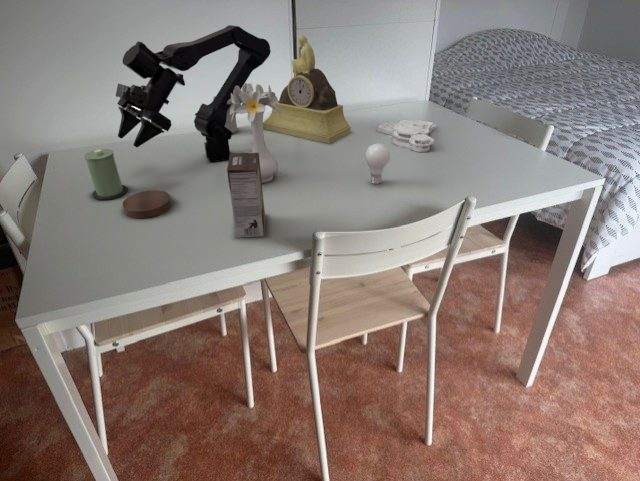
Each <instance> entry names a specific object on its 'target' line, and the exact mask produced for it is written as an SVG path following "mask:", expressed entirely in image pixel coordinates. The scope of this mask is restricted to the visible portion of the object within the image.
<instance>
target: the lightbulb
mask: <svg viewBox="0 0 640 481" xmlns="http://www.w3.org/2000/svg"><path fill="white" fill-rule="evenodd" d="M390 159H391V153H390V150H389V148H388V146H386V145H385V144H384V143H379V142H377V143H372V144H371V145H369V146H368V147H367V148H366V151H365V153H364V160H365V162H366V165H367V166H368V167H369V171H370V182H371V183H372V184H374V185H379V184H380V183H382V175H383V172H384V169H385V167H386V166H387V164H389V161H390Z"/></svg>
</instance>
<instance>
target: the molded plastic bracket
mask: <svg viewBox="0 0 640 481" xmlns="http://www.w3.org/2000/svg"><path fill="white" fill-rule="evenodd" d="M436 129H437V124H435V122H431V121H427V120H420V119H418V120H410V119H402V120H398V121H396V122H395V123H391V122H385V121H384V122H383V123H381V124H379V125H378V126H377V127H376V130H375V131H376V132H379V133H382V134H386V135H389V136H393V137H392V143H393V144H395V145H396V146H399V147H402V148H406V149H409V150H412V151H414V152H418V153H424V152H425V153H426V152H428V151H430V147H431V145H433V144H434V143H435V139H434V138H433V137H431V136H430V135H429V134H430V133H432V132H433V131H434V130H436Z"/></svg>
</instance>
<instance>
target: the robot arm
mask: <svg viewBox="0 0 640 481" xmlns="http://www.w3.org/2000/svg"><path fill="white" fill-rule="evenodd" d="M231 45H234V46H235V47H236V48H238V55H237V61H236V63H235V65H234V67H233V68H232V70H231V71H230V72H229V75H228V76H227V78H226V79H225V81H224V83H223V84H222V86H221V87H220V89H219V91H218V93H217V94H216V95H215V96H216V97H215V96H214V97H215V99H214V100H213V99H212V101H213V102H212V101H211V102H212V103H211V102H210V103H209V104H206V103H201V105H200V106H199V109H198V110H197V112H196V113H195V114H194V116H195V117H194V120H193V123H194V127H195V129H196V130H197V131H198V132H200V135H201V136H202V137H205V141H204V143H203V144H204V151H205V156H206V158H207V159H208V160H209V162H210V163H213V162H221V161H226V160H227V161H229V155H230V154H231V152H230V151H231V150H230V143H229V142H230V140H231V139H232V135H233V134H232V132H231V131H230V130H229V129H227V128H226V127H225V124H226V120H227V111H228V110H229V108H230V106H231V105H232V104H227V101H228V100H229V99H231V93H232V94H233V90H234V88H235V86H239V88H240V89H241V90H242V88H243V86H244V84H245V83H247V80H248V79H249V78H250V76H251V74H252V72H254V71H255V70H256V69H258V68H259V67H260V66H262V65H263V64H264V63H265V62H266V60H268V58H270V55H271V45H270V43H269V41H268V40H267V39H265V38H261V37H258V36H256V35H254V34H252V33H250V32H248V31H246V30H245V29H243V28H242V27H241V26H238V25H234V24H233V25H232V24H230V25H229V24H228V25H227V26H225V27H224V28H222V29H219V30H217V31H214V32H211V33H209V34H207V35H204V36H202V37H200V38H197V39H194V40H192V41H186V42H185V41H184V42H176V43H171V44H167V45H165V47H164V48H162V49H163V50H160V51H157V52H154V51H153V50H151V49H150V48H149V47H148V46H147V45H146V44H145V43H144V42H142V41H139V40H138V41H136V43H135V44H134V45H132V46H131V47H129V49H128V50H126V51H125V53H124V55H123V57H122V64H123V65H124V66H125V67H127V69H129V70H131V71H132V72H133V73H134V74H136V75H137V76H139V77H140V78H142V79H143V80H146V79H148V78H149V80H148V82H147V83H146V85H145V84H142V85H136V84H131V86H129V85H126V84H122V83H117V87H116V92H115V97H116V98H119V100H118V101H117V103H116V104H117V105H118V106H117V107H118V110H119V112H120V114H121V118H120V124H119V129H118V133H117V137H118V138H119V139H123V138H125V137H126V136H127V135H128V134H129V133H130V132H131V131H132V130H134V129H135V128H136V127H137V126H138V125H139V124H141V126H140V128H139V131H138V132H137V134H136V137H135V139H134V142H133V144H132V146H133V147H135V148H139V147H141V146H142V145H144V144H145V143H147V142H148V141H151V139H153V138H155V137H156V136H159V135H160V134H164V133H165V131H166V132H169V131H170V129H171V127H172V120H171V119H170V118H168V117H167V116H166V115H163V113H161V112H160V111H161V110H162V108H163V107H164V105H167V106H168V105H169V103H170V100H168V98H169V97H170V95H171V93H172V92H173V90H174V88H175V87H176V85H180V86H186V82H185V79H184V74H182V73H177V72H175V71H173V70H177V71H180V72H186V71H189V70H190V69H191V68H193V67H194V66H196V65H197V64H198V62H200V60H201V59H203V58H204V57H206V56H208V55H210V54H213V53H215V52H217V51H220V50H222V49H224V48H226V47H229V46H231ZM162 65H164V66H166V67H163V66H162ZM233 95H234V94H233Z"/></svg>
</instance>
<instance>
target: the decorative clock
mask: <svg viewBox="0 0 640 481" xmlns="http://www.w3.org/2000/svg"><path fill="white" fill-rule="evenodd" d="M297 40H298V43H299V46H298V49H297V50H298V53H297V58H298V59H297V58H296V59H295V58H294V59H292V60H291V65H292V73H293V74H294V75H293V77H292V78H291V79H290V80H289V82H288V84H287V85H286V86H285V87H284V88H283V89H282V91H281V93H280V96H279V100H278V102H277V104H274V105H277V106H278V107H279V108H280V110H281V111H282V114H281V113H280V112H278V111H276V110H275V109H273V108H272V109H271V112H270V114H269V116H268V117H267V118H266V119H265V120H263V130H268V131H272V132H277V133H281V134H285V135H289V136H294V137H298V138H302V139H305V140H311V141H314V142H319V143H323V144H327V145H330V144H332V143H334V142H336V141H338V140H340V139H341V138H343V137H345V136H347V135H349V134H351V126H350V124H349V122H348V121H347V120H346V117H345V113H344V105H343V104H338V100H337V96H336V90H335V89H334V88H333V86H332V85H331V84H330V82H329V81H328V78H327V77H326V75H325V73H324V72H323V70H321V69H319V68H316V58H315V53H314V49H313V48H312V46H311V45H310V43H309V42H308V38H307V37H306V36H305V35H303V34H302V35H300V36H299V37H298V38H297Z"/></svg>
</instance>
